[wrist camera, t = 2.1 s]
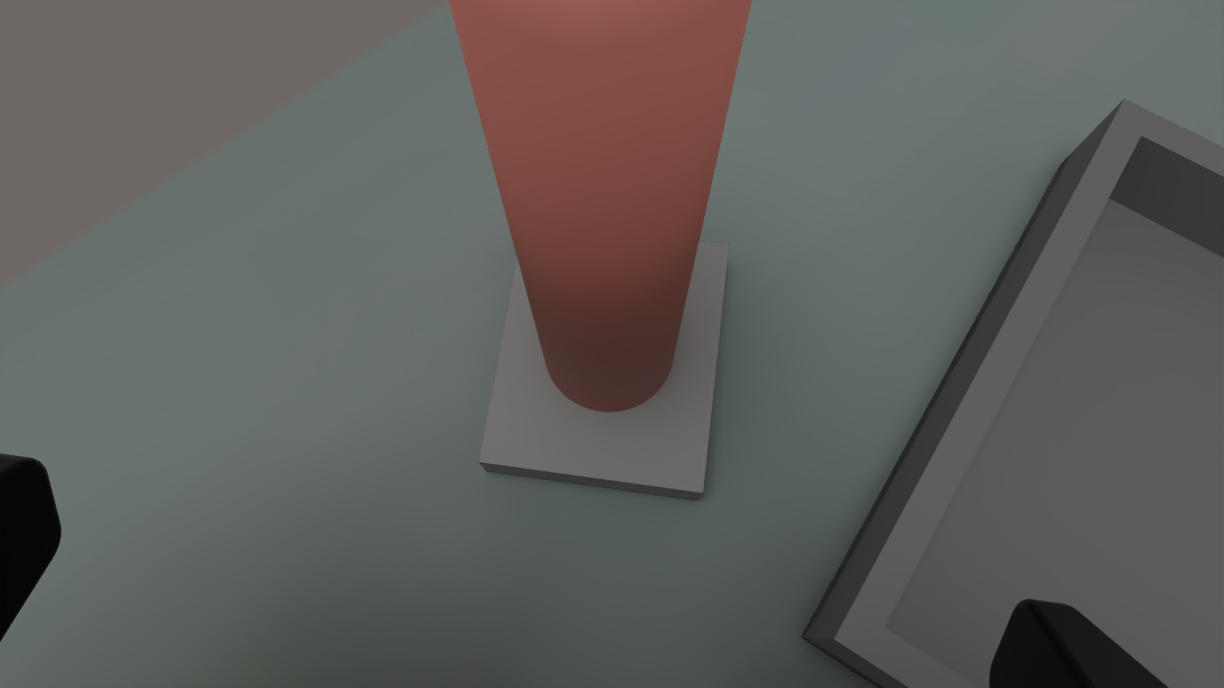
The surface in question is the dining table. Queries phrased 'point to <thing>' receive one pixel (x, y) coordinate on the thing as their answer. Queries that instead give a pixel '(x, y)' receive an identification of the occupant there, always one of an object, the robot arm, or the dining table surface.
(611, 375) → the red post on base
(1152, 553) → the bin
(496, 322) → the dining table surface
